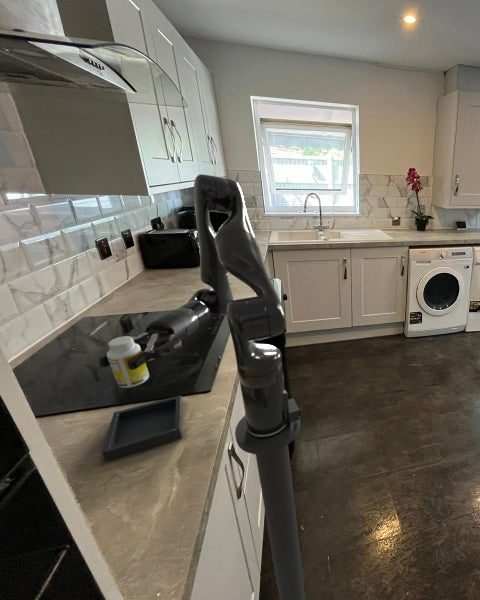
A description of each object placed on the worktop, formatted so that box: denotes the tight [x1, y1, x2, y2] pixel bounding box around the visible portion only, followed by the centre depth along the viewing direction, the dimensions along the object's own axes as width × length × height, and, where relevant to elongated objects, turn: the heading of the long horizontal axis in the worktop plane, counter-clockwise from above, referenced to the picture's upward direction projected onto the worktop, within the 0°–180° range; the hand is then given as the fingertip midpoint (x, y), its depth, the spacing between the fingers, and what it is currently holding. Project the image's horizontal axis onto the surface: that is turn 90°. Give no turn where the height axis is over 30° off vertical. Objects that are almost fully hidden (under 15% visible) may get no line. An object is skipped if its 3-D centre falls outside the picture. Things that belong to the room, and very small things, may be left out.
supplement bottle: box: [106, 336, 150, 389], centre depth 69 cm, size 6×6×10 cm
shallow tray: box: [101, 395, 184, 463], centre depth 73 cm, size 13×13×2 cm
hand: (116, 364), depth 66 cm, fingers closed on supplement bottle, 5 cm apart
